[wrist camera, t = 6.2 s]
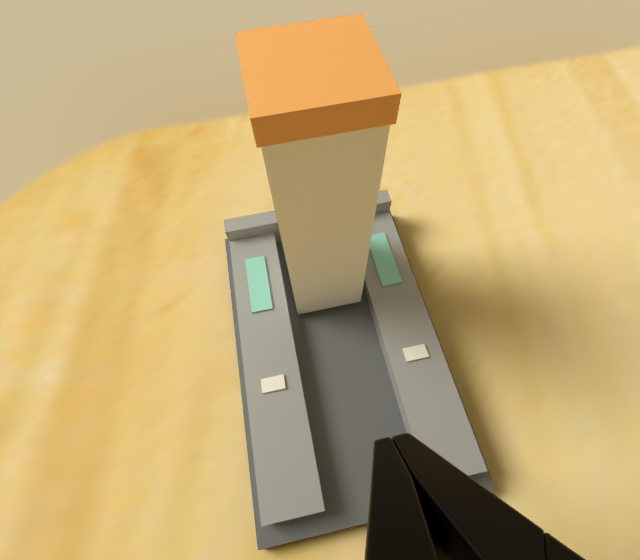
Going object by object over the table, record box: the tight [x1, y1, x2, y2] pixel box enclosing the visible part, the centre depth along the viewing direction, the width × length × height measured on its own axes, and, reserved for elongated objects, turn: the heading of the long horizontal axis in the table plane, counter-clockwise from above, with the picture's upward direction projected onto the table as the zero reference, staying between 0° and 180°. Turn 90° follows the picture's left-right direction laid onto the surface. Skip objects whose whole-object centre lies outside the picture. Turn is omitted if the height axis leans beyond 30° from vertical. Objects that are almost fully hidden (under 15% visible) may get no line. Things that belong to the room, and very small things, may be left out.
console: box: [224, 190, 496, 550], centre depth 17 cm, size 15×10×2 cm, turn 12°
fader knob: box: [235, 13, 401, 314], centre depth 14 cm, size 3×3×11 cm
